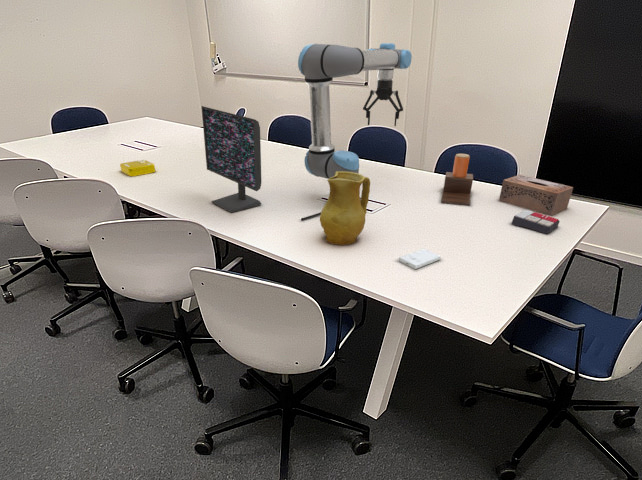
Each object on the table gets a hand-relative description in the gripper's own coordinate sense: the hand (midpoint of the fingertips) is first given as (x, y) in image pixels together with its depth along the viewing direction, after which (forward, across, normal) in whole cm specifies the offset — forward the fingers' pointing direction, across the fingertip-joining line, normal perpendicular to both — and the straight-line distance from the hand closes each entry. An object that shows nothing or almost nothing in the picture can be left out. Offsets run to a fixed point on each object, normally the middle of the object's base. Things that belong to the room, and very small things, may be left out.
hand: (381, 125), depth 229 cm
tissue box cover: (+28, -74, +30) cm, 84 cm away
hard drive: (+28, -20, +99) cm, 105 cm away
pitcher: (+28, +9, +85) cm, 90 cm away
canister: (+19, -40, +17) cm, 48 cm away
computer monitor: (+28, +63, +54) cm, 87 cm away
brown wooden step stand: (+28, -39, +25) cm, 54 cm away
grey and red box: (+28, -68, +58) cm, 94 cm away
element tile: (+28, +135, +11) cm, 138 cm away
